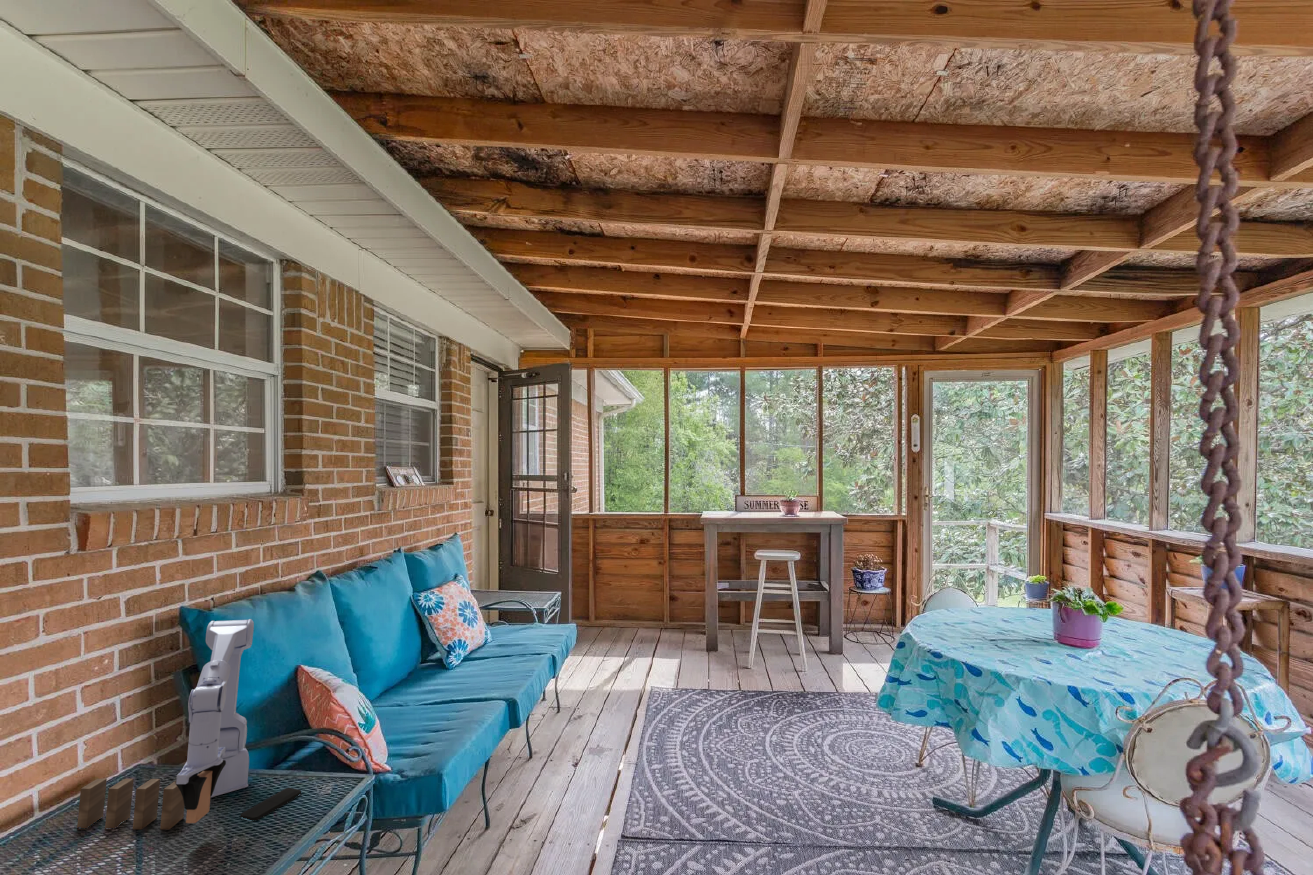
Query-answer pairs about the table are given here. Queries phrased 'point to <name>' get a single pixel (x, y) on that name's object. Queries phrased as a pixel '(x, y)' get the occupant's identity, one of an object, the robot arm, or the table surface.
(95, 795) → the domino
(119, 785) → the domino
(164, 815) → the domino
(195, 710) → the robot arm
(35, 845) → the table surface
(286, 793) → the remote control
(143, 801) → the domino
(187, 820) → the domino
